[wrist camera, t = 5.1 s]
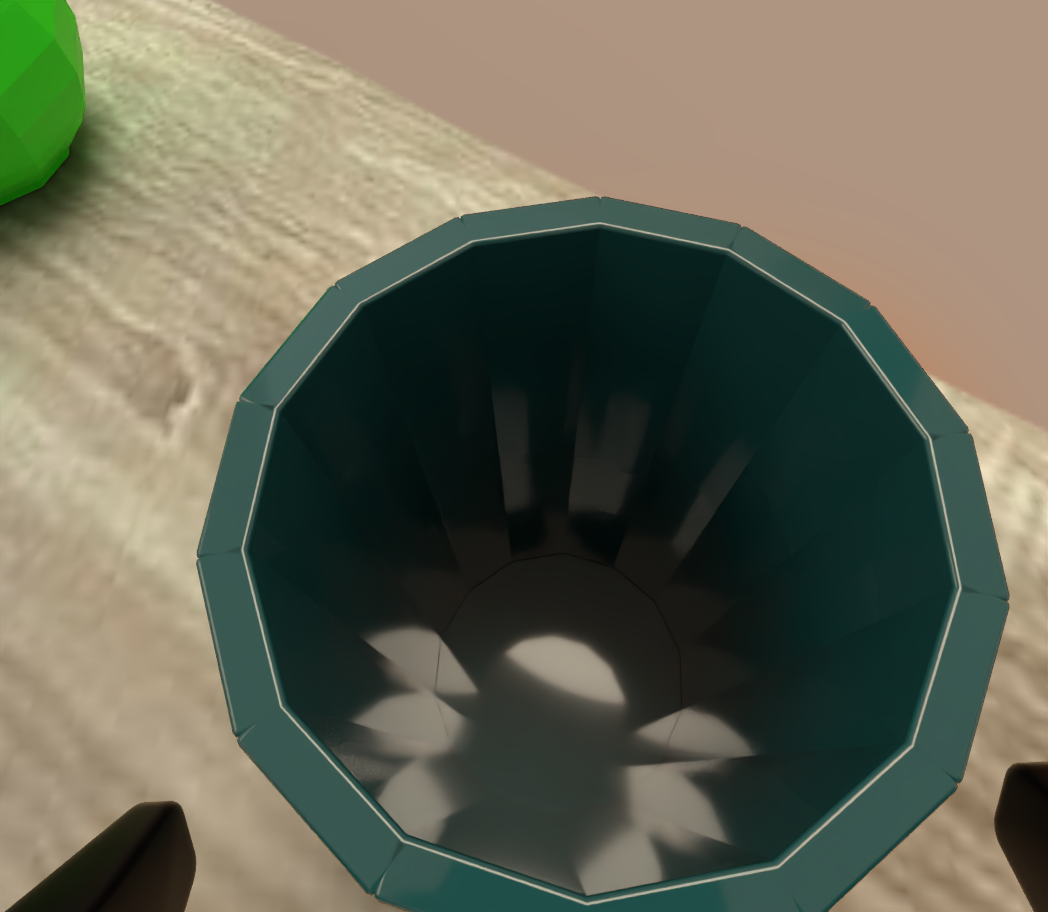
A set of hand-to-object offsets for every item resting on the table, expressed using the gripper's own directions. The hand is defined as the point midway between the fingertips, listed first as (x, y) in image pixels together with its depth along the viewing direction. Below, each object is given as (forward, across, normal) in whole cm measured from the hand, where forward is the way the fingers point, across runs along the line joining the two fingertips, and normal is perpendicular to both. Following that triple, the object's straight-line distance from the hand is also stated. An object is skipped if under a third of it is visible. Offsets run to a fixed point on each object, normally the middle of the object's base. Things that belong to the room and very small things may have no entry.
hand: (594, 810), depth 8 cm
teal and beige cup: (+9, 0, +5) cm, 10 cm away
